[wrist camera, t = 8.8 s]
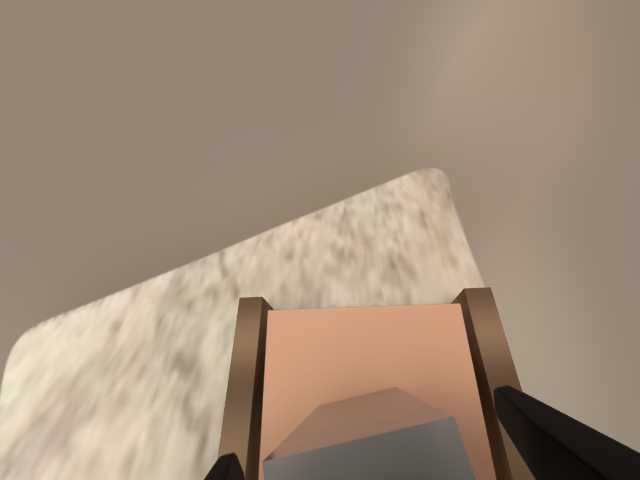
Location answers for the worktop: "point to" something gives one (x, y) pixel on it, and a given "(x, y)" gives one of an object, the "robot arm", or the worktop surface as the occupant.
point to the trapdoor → (371, 367)
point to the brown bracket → (249, 371)
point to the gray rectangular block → (373, 442)
